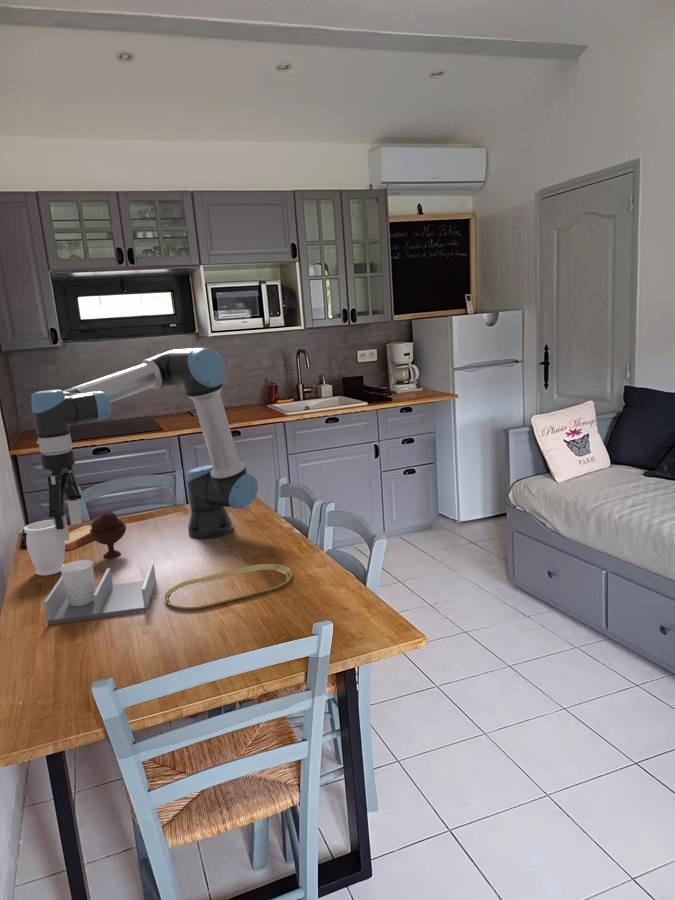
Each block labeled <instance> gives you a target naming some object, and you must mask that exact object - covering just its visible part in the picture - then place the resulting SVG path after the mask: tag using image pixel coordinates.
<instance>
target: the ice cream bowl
mask: <svg viewBox="0 0 675 900" xmlns="http://www.w3.org/2000/svg"><path fill="white" fill-rule="evenodd" d="M126 530H127V525H126V524H125V522H123V520H122V519H120V518H118V516H117V514H116V513H115V512H113V511H104V512H102V514H100V515H99V516H97V517H96V518H95V519H94V520H93V521H92V522H91V530H90V533H91V535H92V537H93V538H94V540H95V541H96V542H97V543H99V544H101V545H106V546H107V549H108V551H107V552H105V553H104V554H103V556H102V557H103V559H106V560H111V559H115V558H118V557H120V556H121V555H122V553H121V552H120V551H119V550H115V547H114V546H115V543H117V542H118V541H120V540H121V539H122V537H124V535H125V534H126Z"/></svg>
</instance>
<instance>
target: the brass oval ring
mask: <svg viewBox="0 0 675 900" xmlns="http://www.w3.org/2000/svg"><path fill="white" fill-rule="evenodd" d="M269 570H270V571H276V572H280V573H282V574H284V575H285V576H286V580H285V582H283V583H281V584H279V585H277V586H274V587H271V588H268V589H267V588H266V589H264V590H263V589H262V590H259V591H254V592H252V593H247V594H243V595H239V596H236V597H235V596H234V597H232V598H227V599H223V600H219V601H216V602H211V603H207V604H203V605H197V606H196V605H195V606H181V605H176V604H174V605H172V604H171V603H170V601H169V597H170V596H171V594H172V593H173V592H175V591H176V590H178V589H179V588H182V587H184V586H187V585H190V584H195V583H199V582H205V581H209V582H211V581H210V580H213V581H216V580H215V579H218V580H221V578H222V579H226V578H229V577H234V576H238V574H239V575H242V573H243V574H246V573H251V572H255V571H269ZM224 577H225V578H224ZM292 577H293V571H292V570H291V569H290V568H289V567H286V566H285V565H282V564H281V565H280V564H276V563H260V564H254V565H248V566H244V567H239V568H234V569H231V570H227V571H222V572H218V573H214V574H209V575H204V576H201V577H197V578H196V577H195V578H192V579H188V580H185V581H182V582H180V583H178V584H176V585H173V586H172V587H171V588H169V589H168V590H167V591H166V593H165V595H164V601H165V603H166V604H168V605H169V606H170V607H173V608H174V609H177V608H178V609H177V610H183V609H196V610H201V609H200V608H203V609H207V608H206V607H208V608H211V607H210V606H212V607H215V606H214V605H216V606H219V604H220V605H223V603H224V604H226V603H227V602H228V603H230V602H231V601H232V602H235V601H239V600H243V599H247V598H251V597H255V596H259V595H262V594H265V593H266V592H267V593H270V592H273V591H276V590H279V589H281V588H283V587H284V586H286V585H287V584H288V583H289V582H290V581H291V579H292ZM205 583H206V582H205ZM167 599H168V600H167ZM232 602H231V603H232Z"/></svg>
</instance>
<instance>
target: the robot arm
mask: <svg viewBox="0 0 675 900" xmlns="http://www.w3.org/2000/svg"><path fill="white" fill-rule="evenodd" d="M226 374H227V367H226V363H225V359H223V357H222V356H221V355H220V353H219V352H218V351H216V350H214V349H211V348H206V347H201V346H200V347H193V348H192V347H191V348H176V349H171V350H168V351H164V352H163V353H160V354H157V355H155V356H152V357H149V358H146V359H144V360H142V361H141V364H139V365H135V366H132V367H130V368H127V369H124V370H121V371H117V372H115V373H112V374H109V375H106V376H103V377H100V378H97V379H94V380H91V381H88V382H85V383H82V384H79V385H76V386H73V387H71V388H70V387H69V388H65V389H64V390H62V389H50V390H49V389H48V390H41V391H36V392H34V393H32V394H31V397H30V398H31V408H32V409H31V411H32V415H33V418H34V424H35V428H36V429H35V430H36V435H37V440H36V444H37V445H39V452H40V453H41V456H40V458H41V459H40V460H41V463H42V469H43V470H45V471H51V475H50V476H47V484H48V506H49V507H48V508H49V510H48V511H49V514H48V517H49V518H52V520H54V525H55V531H56V536H57V542H60V541H68V540H70V539H69V533H70V532H69V528H68V523H67V522H68V521H67V517H66V516H67V515H66V514H65V513H64V512H65V496H66V498H67V499H68V500H67V501H66V502H67V508H68V513H69V514H68V515H69V520H70V525H71V526H72V525H81V524H83V520H82V511H81V507H80V499H82V494H81V492H80V490H79V485H78V483H77V479H76V477H75V473H74V470H73V466H75V465H76V461H75V455H74V451H73V450H72V449H73V442H72V438H71V431H70V426H73V425H78V424H84V423H85V424H86V423H89V422H99V421H100V420H104V419H107V418H108V417H109V416H110V414H111V413H112V404H111V403H112V402H116V401H118V400H121V399H124V398H127V397H130V396H132V395H134V394H138V393H141V392H143V391H146V390H148V389H151V390H158V389H161V388H165V387H183V389H184V392H185V395H186V397H187V398H189V399H191V400H192V401H193V405H194V409H195V412H196V414H197V415H196V416H197V417H198V421H199V425H200V428H201V430H202V435H203V438H204V442H205V444H206V448H207V451H208V455H209V458H210V461H211V464H209V465H208V464H207V465H203V466H198V467H195V468H192V469H190V470H189V471H187V474H186V483H187V491H188V497H189V505H190V517H189V522H188V526H187V529H188V530H187V531H188V536H190V537H192V538H195V539H211V538H217V537H221V536H223V535H226V534H229V533H230V532H232V530H233V521H232V519H231V517H230V515H229V513H228V511H227V508H231V509H235V510H237V509H240V510H243V509H247V508H248V507H250V506H251V505H252V504H253V502H254V501H255V499H256V496H258V495H257V494H258V492H259V491H258V490H259V483H258V480H257V478H256V477H255V476H254V475H252V474H251V473H248V471H247V467H246V464H245V462H242V461H240V460H239V456H238V452H237V449H236V446H235V442H234V439H233V435H232V430H231V427H230V425H229V421H228V416H227V412H226V410H225V406H224V403H223V399H222V396H221V391H222V390H223V388H224V384H223V383H224V381H225V378H226ZM226 507H227V508H226Z"/></svg>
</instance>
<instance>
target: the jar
mask: <svg viewBox="0 0 675 900" xmlns="http://www.w3.org/2000/svg"><path fill="white" fill-rule="evenodd" d="M23 531H24V533H25V534H26V539H25V542H26V548H27V552H28V554H29V557H30V560H31V562H32V564H33V566H34V567H35V575H38V576H44V577H45V576H51V575H55V574H58V573H61V570H60V569H61V567H62V566H64V565H65V563H64V562H65V557H66V553H65V552H66V551H65V541H60V542H57V536H56V531H55V525H54V519H44V520H41V521H40V520H38V521H35V522H31V523H29V524H27V525H25V526H24V527H23Z"/></svg>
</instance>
